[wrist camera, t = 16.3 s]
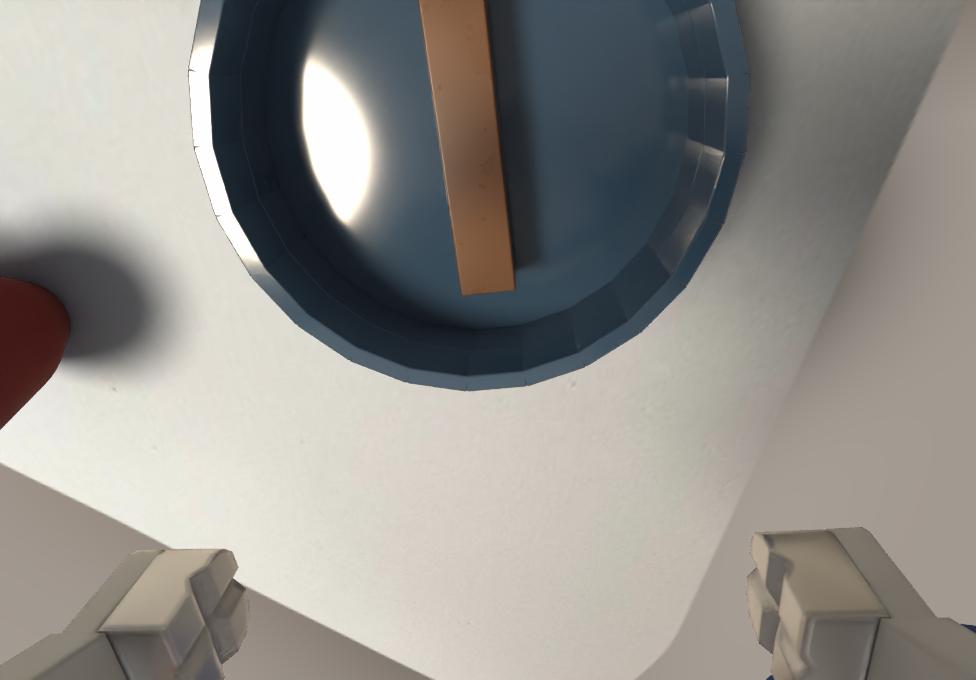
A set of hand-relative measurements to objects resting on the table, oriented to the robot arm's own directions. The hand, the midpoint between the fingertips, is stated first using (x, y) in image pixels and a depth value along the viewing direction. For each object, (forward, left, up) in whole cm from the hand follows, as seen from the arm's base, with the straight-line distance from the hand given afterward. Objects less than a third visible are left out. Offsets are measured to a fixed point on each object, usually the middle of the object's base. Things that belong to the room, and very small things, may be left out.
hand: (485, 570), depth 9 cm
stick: (+3, -4, -21) cm, 22 cm away
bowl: (+3, -4, -22) cm, 23 cm away
